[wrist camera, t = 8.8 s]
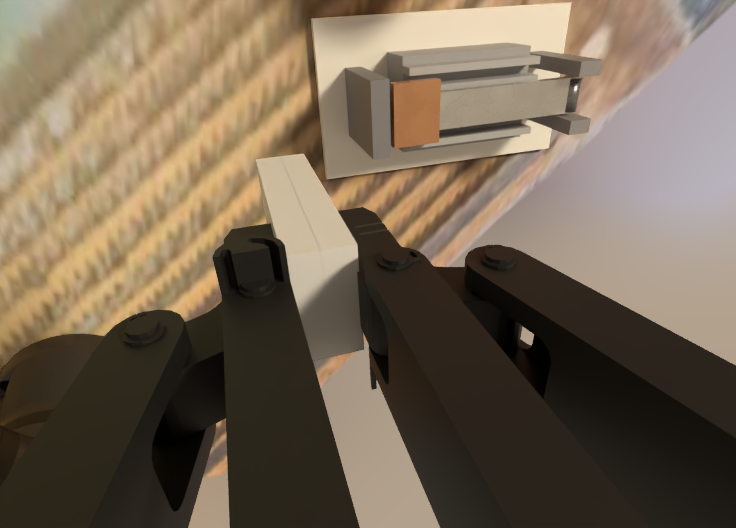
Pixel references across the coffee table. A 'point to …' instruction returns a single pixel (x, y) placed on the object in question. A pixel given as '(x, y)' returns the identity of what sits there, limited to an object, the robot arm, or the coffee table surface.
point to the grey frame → (443, 61)
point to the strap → (472, 105)
